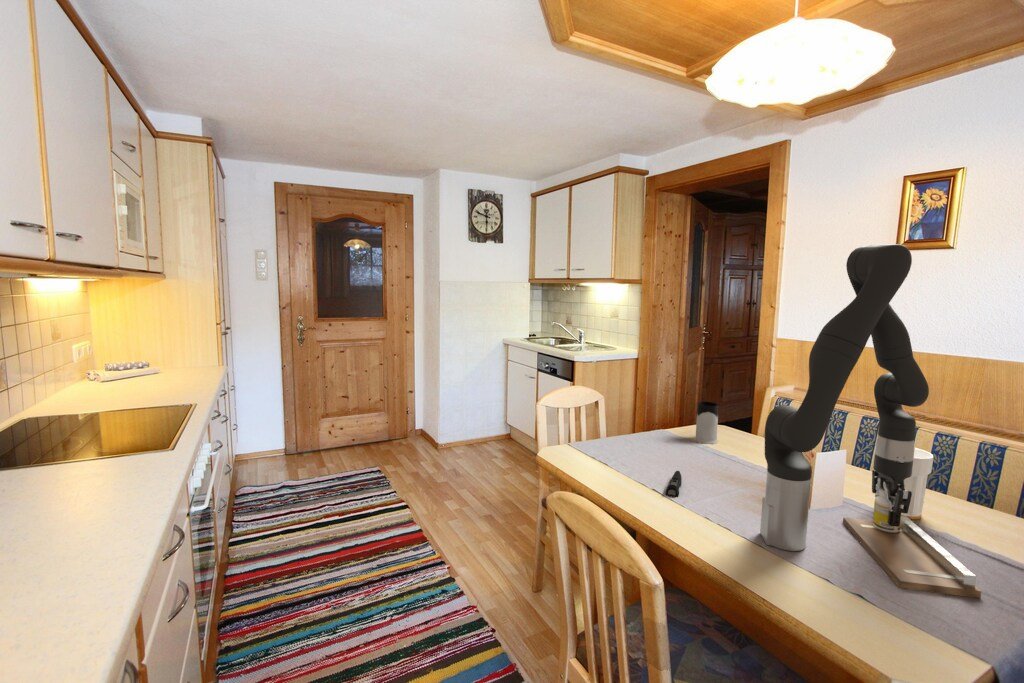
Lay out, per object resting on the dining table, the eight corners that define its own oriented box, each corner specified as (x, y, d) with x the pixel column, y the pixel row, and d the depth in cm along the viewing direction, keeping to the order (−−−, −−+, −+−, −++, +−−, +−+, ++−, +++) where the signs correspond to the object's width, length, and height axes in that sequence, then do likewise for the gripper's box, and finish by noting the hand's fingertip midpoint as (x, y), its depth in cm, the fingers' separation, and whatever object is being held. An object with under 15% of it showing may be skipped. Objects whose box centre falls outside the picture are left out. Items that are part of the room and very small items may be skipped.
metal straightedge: (963, 586, 98) (964, 574, 98) (896, 524, 123) (897, 515, 123) (975, 587, 98) (976, 576, 98) (905, 525, 123) (906, 516, 123)
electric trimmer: (684, 480, 156) (684, 470, 155) (678, 499, 142) (678, 488, 141) (671, 478, 157) (672, 469, 157) (665, 496, 143) (665, 486, 143)
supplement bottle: (887, 522, 124) (890, 486, 123) (905, 533, 119) (909, 495, 118) (867, 523, 124) (870, 486, 123) (884, 533, 119) (887, 495, 118)
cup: (878, 515, 131) (885, 454, 129) (870, 499, 141) (876, 441, 139) (932, 525, 126) (939, 461, 124) (920, 507, 136) (926, 448, 134)
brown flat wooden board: (899, 587, 100) (900, 580, 100) (842, 522, 127) (843, 517, 127) (980, 598, 97) (981, 590, 97) (904, 529, 124) (905, 523, 124)
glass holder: (694, 442, 191) (696, 405, 189) (693, 432, 204) (695, 397, 202) (718, 445, 188) (720, 407, 186) (715, 434, 201) (717, 399, 199)
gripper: (862, 444, 127) (857, 505, 129) (891, 463, 113) (884, 531, 115) (896, 446, 125) (889, 508, 127) (929, 467, 111) (921, 536, 113)
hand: (886, 519), depth 121 cm, fingers open, 5 cm apart
